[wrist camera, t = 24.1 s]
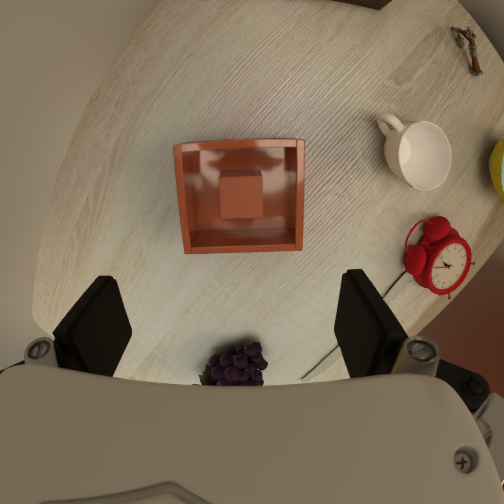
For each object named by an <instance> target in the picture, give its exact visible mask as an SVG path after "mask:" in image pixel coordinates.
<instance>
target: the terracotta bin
mask: <svg viewBox="0 0 504 504" xmlns="http://www.w3.org/2000/svg"><path fill="white" fill-rule="evenodd" d="M173 149H174V162H175V174H176V185H177V195H178V205H179V214H180V222H181V230H182V238H183V246H184V253H185V254H208V253H240V252H272V251H302V246H303V220H304V172H305V140H304V139H297V138H252V139H228V140H212V141H200V142H189V143H182V144H177V145H173ZM243 170H261V173H262V176H263V218H242V219H221V218H220V204H219V188H218V177H219V176H220V174H221V173H222V172H223V171H243Z"/></svg>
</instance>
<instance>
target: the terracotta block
mask: <svg viewBox="0 0 504 504" xmlns="http://www.w3.org/2000/svg"><path fill="white" fill-rule="evenodd" d="M218 188H219V204H220V218H221V219H242V218H263V176H262V173H261V170H243V171H223V172H222V173H221V174H220V176H219V177H218Z"/></svg>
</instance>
